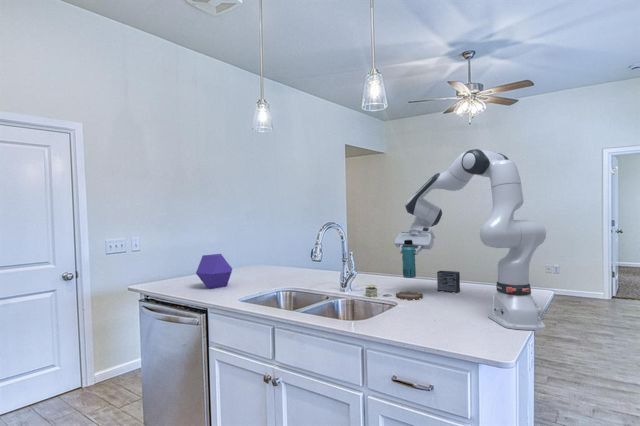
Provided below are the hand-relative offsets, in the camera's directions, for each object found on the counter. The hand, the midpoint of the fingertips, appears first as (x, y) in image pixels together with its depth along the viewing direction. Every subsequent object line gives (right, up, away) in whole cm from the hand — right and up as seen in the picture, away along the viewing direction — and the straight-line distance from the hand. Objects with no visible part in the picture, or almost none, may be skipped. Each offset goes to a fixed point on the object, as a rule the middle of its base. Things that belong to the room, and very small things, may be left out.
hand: (408, 253), depth 192 cm
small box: (+25, -22, +14) cm, 36 cm away
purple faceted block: (-105, -23, +35) cm, 114 cm away
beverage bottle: (+1, -13, +1) cm, 13 cm away
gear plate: (+1, -22, +1) cm, 22 cm away
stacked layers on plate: (-17, -23, +5) cm, 29 cm away
